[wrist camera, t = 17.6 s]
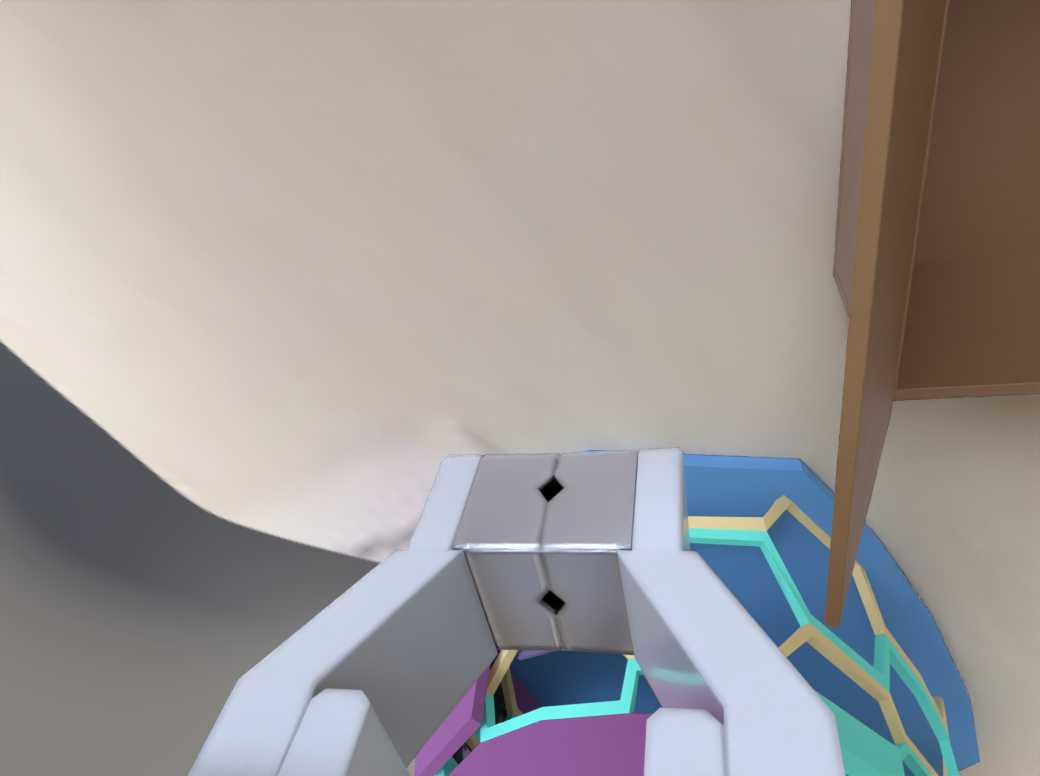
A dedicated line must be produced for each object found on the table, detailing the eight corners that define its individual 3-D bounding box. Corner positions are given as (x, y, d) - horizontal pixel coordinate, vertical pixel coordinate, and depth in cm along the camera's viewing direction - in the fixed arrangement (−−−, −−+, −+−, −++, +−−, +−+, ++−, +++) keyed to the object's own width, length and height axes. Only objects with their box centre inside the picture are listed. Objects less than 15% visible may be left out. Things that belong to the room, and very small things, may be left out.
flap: (890, 415, 20) (878, 413, 20) (988, -322, 11) (966, -315, 11) (838, 629, 15) (823, 624, 15) (941, -370, 6) (903, -358, 7)
